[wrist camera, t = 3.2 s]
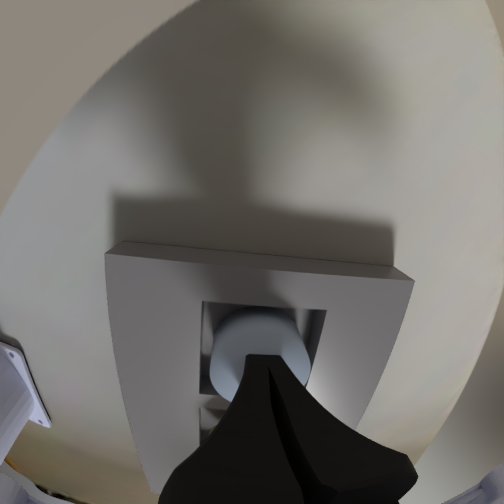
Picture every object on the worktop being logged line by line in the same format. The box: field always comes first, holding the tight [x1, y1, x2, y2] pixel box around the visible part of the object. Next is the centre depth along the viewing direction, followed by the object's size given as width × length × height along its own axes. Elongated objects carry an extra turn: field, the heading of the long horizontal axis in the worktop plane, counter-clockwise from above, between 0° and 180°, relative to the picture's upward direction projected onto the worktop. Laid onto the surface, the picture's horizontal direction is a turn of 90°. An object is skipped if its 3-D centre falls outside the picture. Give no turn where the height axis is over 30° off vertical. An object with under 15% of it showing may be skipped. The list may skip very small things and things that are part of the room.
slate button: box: [210, 306, 311, 402], centre depth 12 cm, size 4×4×2 cm
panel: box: [105, 241, 415, 494], centre depth 14 cm, size 13×20×2 cm, turn 174°
